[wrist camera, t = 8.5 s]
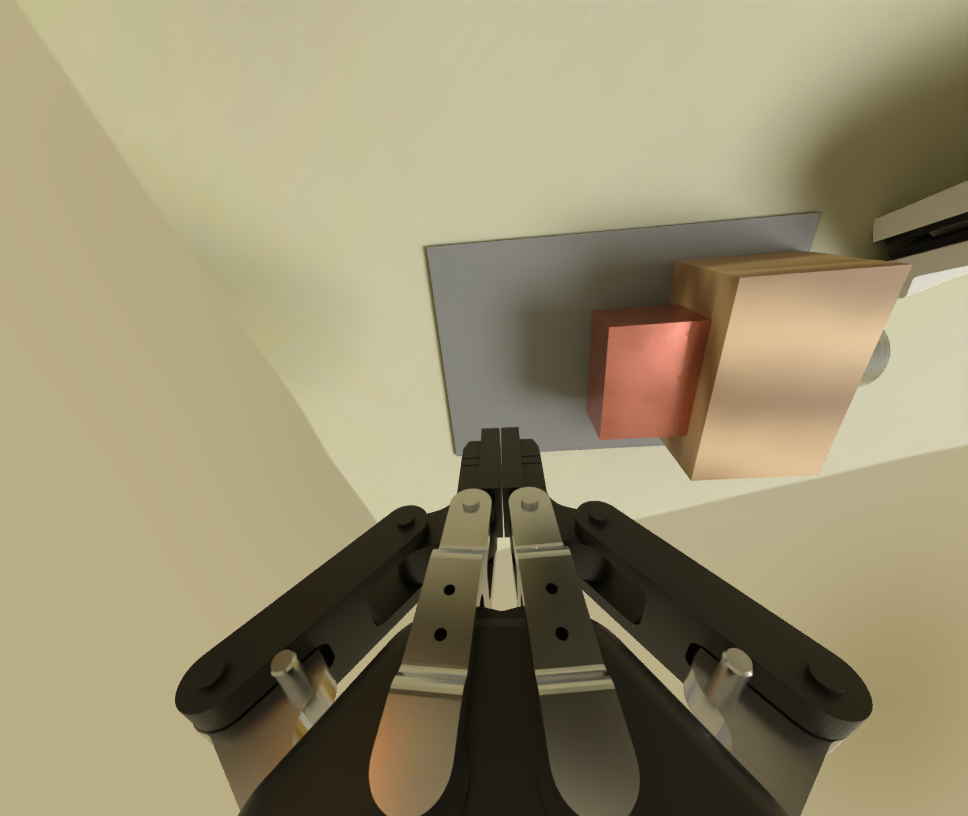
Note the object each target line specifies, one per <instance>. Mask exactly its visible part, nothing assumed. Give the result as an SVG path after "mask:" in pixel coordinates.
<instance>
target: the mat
mask: <svg viewBox="0 0 968 816" xmlns="http://www.w3.org/2000/svg"><path fill="white" fill-rule="evenodd" d="M821 213H822V212H819V213H807V214H796V215H784V216H773V217H762V218H750V219H739V220H727V221H716V222H705V223H693V224H682V225H670V226H659V227H648V228H636V229H625V230H613V231H602V232H591V233H579V234H568V235H557V236H545V237H534V238H522V239H511V240H500V241H488V242H477V243H465V244H454V245H443V246H431V247H426V248H427V255H428V261H429V268H430V275H431V282H432V289H433V296H434V303H435V310H436V317H437V324H438V331H439V338H440V345H441V352H442V359H443V366H444V373H445V380H446V387H447V394H448V401H449V408H450V415H451V422H452V429H453V436H454V443H455V450H456V456H462V454H463V449H464V447H465V446H466V445H467V443H468V442H469V441H481V431H482V428H499V429H500V446H501V428H503V427H519V436H520V439H533V440H534V441H535V442H536V443H537V445H538V446H539V450H540V452H545V451H564V450H583V449H602V448H622V447H641V446H660V445H664V443H663V442H662V441H661V439H660V438H659V437H651V438H632V439H614V440H599V437H598V435H597V433H596V431H595V429H594V427H593V425H592V422H591V420H590V418H589V416H588V414H587V412H586V405H587V388H588V372H589V355H590V338H591V321H592V310H605V309H618V308H632V307H645V306H658V305H669V300H670V293H671V287H672V280H673V274H674V268H675V261H682V260H694V259H706V258H718V257H730V256H743V255H755V254H767V253H779V252H791V251H807V252H809V251H810V248H811V245H812V242H813V239H814V236H815V232H816V229H817V226H818V223H819V220H820V217H821Z"/></svg>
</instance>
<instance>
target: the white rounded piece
mask: <svg viewBox="0 0 968 816" xmlns="http://www.w3.org/2000/svg"><path fill="white" fill-rule="evenodd" d="M926 233H929V234H931V235H932V236H934V237H931V238H927V239H924V240H921V241H919V242H916V243H914V244H911V245H909V246H906V247H904V248H901V249H899V250H896V251H894V252H891V253H889V257H890V262H898V263H907V264H913V265H912V267H911V269H910V271H909V274H908V276H907V278H906V280H905V282H904V285H903V287H902V289H901V291H900V294H899V296H898V298H903V297H906V296H909V295H911V294H914V293H917V292H919V291H922V290H925V289H927V288H930V287H933V286H935V285H938V284H941V283H943V282H946V281H949V280H951V279H954V278H957V277H959V276H962V275H965V274H967V273H968V180H967V181H964V182H962V183H959V184H957V185H955V186H952V187H950V188H948V189H945V190H943V191H941V192H938V193H936V194H933V195H931V196H929V197H926V198H924V199H922V200H919V201H917V202H915V203H912V204H910V205H908V206H905V207H903V208H900V209H898V210H896V211H893V212H891V213H889V214H886V215H884V216H882V217H879V218H877V219H875V222H874V226H873V242H876V241H879V240H882V239H884V241H885V244H886V246H887V245H890V244H893V243H897V242H900V241H903V240H906V239H910V238H913V237H916V236H919V235H923V234H926ZM898 298H897V299H898Z"/></svg>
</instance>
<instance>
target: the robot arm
mask: <svg viewBox="0 0 968 816" xmlns="http://www.w3.org/2000/svg"><path fill="white" fill-rule="evenodd" d="M501 459H502V465H501ZM502 495H503V511H502ZM503 513H504V530H505V537H510V544H511V560H512V568H513V576H514V584H515V592H516V600H517V607H516V608H513V609H509V610H506V611H498V610H494V609H492V597H493V585H494V575H495V563H496V551H497V538H499V537H503ZM582 590H583V591H584V592H585V593H586V594H587V595H589V596H590V597H591V598H592V599H593V600H594V601H595V602H596V603H597V604H598V605H599V606H600V607H601V608H602V609H604V610H605V611H606V612H607V613H608V614H609V615H610V616H611V617H612V618H613V619H614V620H615V621H617V622H618V623H619V624H620V625H621V626H622V627H623V628H624V629H625V630H626V631H627V632H628V633H630V634H631V635H632V636H633V637H634V638H635V639H636V640H637V641H638V642H639V643H640V644H641V645H642V646H643V647H645V648H646V649H647V650H648V651H649V652H650V653H651V654H652V655H653V656H654V657H655V658H656V659H657V660H659V661H660V662H661V663H662V664H663V665H664V666H665V667H666V668H667V669H668V670H669V671H671V673H673V674H674V675H675V676H676V677H677V678H678V679H679V680H680V681H681V682H682V683H683V684H684V687H683V688H684V696H685V699H686V702H687V704H688V706H689V708H690V710H691V712H692V713H693V714H692V713H691V712H690V711H689V710H688V709H687V708H686V707H685V706H684V705H683V704H682V703H681V702H680V701H679V700H678V699H677V698H676V697H675V696H674V695H673V694H672V693H671V691H669V690H668V689H667V688H666V686H664V684H663V683H662V682H661V681H660V680H659V679H658V678H657V677H656V676H655V675H654V674H652V672H651V671H650V670H649V669H648V668H647V667H646V666H645V665H644V664H643V663H642V662H641V661H640V660H639V659H638V658H637V657H636V656H635V655H634V654H633V653H632V652H631V651H630V650H629V649H628V648H627V647H626V646H625V645H624V644H623V643H622V642H621V641H620V640H619V639H618V638H617V637H616V636H615V635H614V634H613V633H611V632H610V631H609V630H608V629H607V628H605V627H604V626H602V625H601V624H599V623H598V622H596V621H594V620H592V619H590V615H589V612H588V609H587V606H586V602H585V599H584V595H583V592H582ZM417 603H418V604H417ZM416 604H417V608H416V612H415V616H414V619H413V622H412V623H410V624H409V625H407V626H406V627H405V628H403V629H402V630H401V631H400V632H398V633H397V634H396V635H395V636H394V637H393V638H392V639H391V640H390V641H389V642H388V643H387V645H386V646H385V647H384V648H383V649H382V650H381V651H380V652H379V653H378V655H377V656H376V657H375V658H374V659H373V660H372V661H371V662H370V663H369V665H367V667H366V668H365V669H364V670H363V671H362V672H361V673H360V674H359V675H358V677H357V678H356V679H355V680H354V681H353V682H352V683H351V684H350V685H349V687H348V688H347V689H346V690H345V691H344V692H343V693H342V694H341V695H340V696H339V697H338V698H337V700H336V701H335V702H334V700H335V697H336V692H337V684H338V683H339V682H340V681H341V680H342V679H343V678H344V677H345V676H346V675H347V674H348V673H349V672H350V670H352V669H353V668H354V667H355V665H357V664H358V663H359V661H361V660H362V659H363V658H364V657H365V655H366V654H367V653H368V652H369V651H370V650H371V649H372V648H373V647H374V646H375V645H376V644H377V643H378V642H379V641H380V640H381V639H382V638H383V637H384V636H385V635H386V634H387V633H388V632H389V631H390V630H391V629H392V628H393V627H394V626H395V625H396V624H397V623H398V622H399V621H400V620H401V619H402V618H403V617H404V616H405V615H406V614H407V613H408V612H409V611H410V610H411V609H412V608H413V607H414V606H415V605H416ZM175 704H176V707H177V709H178V710H179V711H180V712H181V713H182V714H183V715H184V716H185V717H186V718H188V719H189V720H190V721H191V722H192V723H193V725H194V728H195V729H196V730H197V731H198V732H199V733H200V734H201V735H202V736H203V737H205V738H206V739H207V740H208V741H209V742H210V743H211V744H212V745H213V746H214V748H215V750H216V752H217V755H218V757H219V760H220V762H221V765H222V767H223V769H224V772H225V775H226V777H227V779H228V782H229V784H230V787H231V789H232V792H233V794H234V796H235V799H236V802H237V804H238V806H239V809H240V813H239V815H238V816H800V815H801V813H802V810H803V808H804V806H805V803H806V801H807V799H808V796H809V794H810V791H811V789H812V786H813V784H814V782H815V780H816V777H817V775H818V773H819V770H820V768H821V766H822V763H823V761H824V758H825V757H826V756H828V755H829V753H831V752H832V751H833V750H834V749H835V748H836V747H837V746H838V745H839V744H840V743H841V742H842V741H843V740H845V739H846V738H847V736H849V735H850V734H851V733H852V732H853V731H854V730H855V729H856V728H857V727H858V726H859V725H860V724H862V723H863V722H864V721H865V720H866V719H867V718H868V717H869V715H870V714H871V712H872V706H873V704H872V698H871V696H870V693H869V691H868V689H867V687H866V685H865V684H864V682H863V681H862V679H861V678H860V677H859V675H858V674H857V673H856V672H855V671H854V670H853V669H852V668H851V667H850V666H849V665H848V664H847V663H846V662H844V661H843V660H842V659H841V658H839V657H838V656H837V655H835V654H834V653H832V652H831V651H829V650H828V649H826V648H824V647H823V646H822V645H820V644H819V643H817V642H815V641H814V640H813V639H811V638H810V637H808V636H807V635H805V634H804V633H802V632H801V631H799V630H798V629H796V628H794V627H793V626H792V625H790V624H788V623H787V622H786V621H784V620H783V619H781V618H780V617H778V616H777V615H775V614H774V613H772V612H771V611H769V610H768V609H766V608H764V607H763V606H762V605H760V604H758V603H757V602H755V601H754V600H753V599H751V598H749V597H748V596H746V595H745V594H744V593H742V592H740V591H739V590H738V589H736V588H735V587H733V586H732V585H730V584H728V583H727V582H726V581H724V580H722V579H721V578H720V577H718V576H717V575H715V574H714V573H712V572H710V571H709V570H708V569H706V568H704V567H703V566H701V565H700V564H698V563H697V562H696V561H694V560H692V559H691V558H690V557H688V556H686V555H685V554H684V553H682V552H681V551H679V550H678V549H676V548H675V547H673V546H672V545H670V544H669V543H667V542H666V541H664V540H662V539H661V538H659V537H658V536H656V535H655V534H653V533H652V532H650V531H649V530H647V529H646V528H644V527H643V526H641V525H640V524H638V523H637V522H635V521H634V520H632V519H631V518H629V517H628V516H626V515H625V514H623V513H622V512H620V511H619V510H617V509H616V508H614V507H613V506H611V505H609V504H607V503H604V502H600V501H589V502H586V503H583V504H581V505H580V506H579V507H578V509H573V508H569V507H565V506H562V505H560V504H558V503H556V502H555V501H553V500H552V499H551V498H550V497H549V495H548V493H547V491H546V485H545V479H544V473H543V468H542V462H541V457H540V450H539V446H538V445H537V443H536V442H535V441H534V440H533V439H520V436H519V427H503V428H501V446H500V429H499V428H482V431H481V441H469V442H468V443H467V445H466V446H465V447H464V449H463V454H462V461H461V469H460V476H459V484H458V491H457V494H456V495H455V496H454V497H453V498H452V500H451V503H450V505H449V506H447V507H446V508H444V509H441V510H438V511H435V512H432V513H428V514H427V513H426V512H425V510H424V509H422V508H420V507H418V506H413V505H409V506H403V507H400V508H398V509H396V510H394V511H393V512H391V513H390V514H389V515H388V516H386V517H385V518H384V519H382V520H381V521H380V522H378V523H377V524H376V525H374V526H373V527H372V528H370V529H369V530H368V531H367V532H365V533H364V534H363V535H361V536H360V537H359V538H357V539H356V540H355V541H353V542H352V543H351V544H349V545H348V546H347V547H346V548H344V549H343V550H341V551H340V552H339V553H337V554H336V555H335V556H333V557H332V558H331V559H330V560H328V561H327V562H326V563H324V564H323V565H322V566H320V567H319V568H318V569H316V570H315V571H314V572H312V573H311V574H310V575H308V576H307V577H306V578H304V579H303V580H302V581H301V582H299V583H298V584H297V585H295V586H294V587H293V588H291V589H290V590H289V591H287V592H286V593H285V594H283V595H282V596H281V597H279V598H278V599H277V600H275V601H274V602H273V603H272V604H270V605H269V606H268V607H266V608H265V609H264V610H263V611H261V612H260V613H258V614H257V615H256V616H254V617H253V618H252V619H250V620H249V621H248V622H247V623H246V624H244V625H243V626H241V627H240V628H239V629H237V630H236V631H235V632H233V633H232V634H231V635H229V636H228V637H227V638H226V639H224V640H223V641H221V642H220V643H219V644H217V645H216V646H215V647H214V648H212V649H211V650H210V651H208V652H207V653H206V654H205V655H203V656H202V657H201V658H199V659H198V660H197V661H196V662H195V663H194V664H193V665H192V666H191V667H190V668H189V670H188V671H187V672H186V674H185V675H184V676H183V678H182V680H181V682H180V684H179V686H178V688H177V692H176V696H175Z"/></svg>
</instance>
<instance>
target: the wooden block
mask: <svg viewBox="0 0 968 816" xmlns="http://www.w3.org/2000/svg"><path fill="white" fill-rule="evenodd" d="M912 265H913V264H907V263H898V262H890V261H882V260H873V259H865V258H857V257H849V256H840V255H832V254H824V253H815V252H807V251H791V252H779V253H767V254H755V255H743V256H730V257H718V258H706V259H694V260H682V261H675V268H674V274H673V280H672V287H671V293H670V300H669V305H672V304H680V305H682V306H684V307H686V308H688V309H691V310H693V311H695V312H697V313H699V314H701V315H703V316H705V317H707V318H709V319H711V320H712V322H711V326H710V331H709V335H708V340H707V345H706V349H705V354H704V358H703V363H702V368H701V372H700V377H699V381H698V386H697V391H696V395H695V400H694V404H693V409H692V414H691V418H690V423H689V427H688V432H687V436H669V437H659V438H660V439H661V441H662V442H663V443H664V445H665V446H666V447H667V449H668V450H669V451H670V453H671V454H672V455H673V457H674V458H675V459H676V461H677V462H678V464H679V465H680V466H681V468H682V469H683V470H684V472H685V473H686V474H687V476H688V477H689V478H690V480H691V481H695V480H717V479H738V478H760V477H781V476H803V475H819V472H820V470H821V468H822V466H823V463H824V461H825V459H826V457H827V454H828V452H829V450H830V448H831V445H832V443H833V441H834V439H835V437H836V434H837V432H838V430H839V428H840V425H841V423H842V421H843V419H844V416H845V414H846V412H847V410H848V408H849V405H850V403H851V401H852V399H853V396H854V394H855V392H856V390H857V387H858V385H859V383H860V381H861V378H862V376H863V374H864V372H865V370H866V367H867V365H868V363H869V361H870V358H871V356H872V354H873V352H874V349H875V347H876V345H877V343H878V341H879V338H880V336H881V334H882V332H883V329H884V327H885V325H886V323H887V320H888V318H889V316H890V314H891V312H892V309H893V307H894V305H895V303H896V300H897V298H898V296H899V294H900V291H901V289H902V287H903V285H904V282H905V280H906V278H907V276H908V274H909V271H910V269H911V267H912Z"/></svg>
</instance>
